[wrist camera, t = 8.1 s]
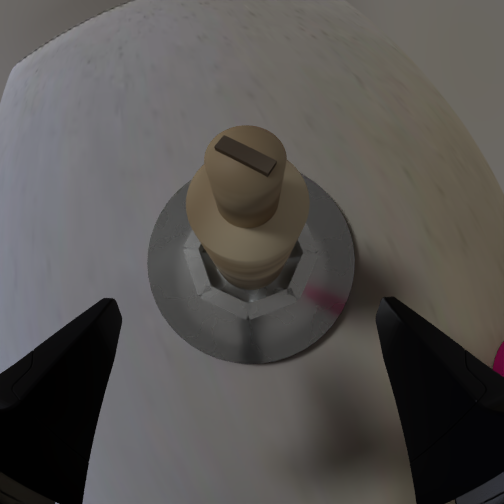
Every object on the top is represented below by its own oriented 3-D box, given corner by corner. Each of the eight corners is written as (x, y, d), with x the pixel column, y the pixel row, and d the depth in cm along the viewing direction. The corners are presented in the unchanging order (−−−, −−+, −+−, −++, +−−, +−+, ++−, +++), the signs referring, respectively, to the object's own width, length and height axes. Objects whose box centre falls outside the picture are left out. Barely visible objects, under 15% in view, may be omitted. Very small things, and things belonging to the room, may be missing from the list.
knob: (297, 244, 20) (352, 136, 8) (262, 303, 20) (275, 268, 7) (239, 210, 21) (223, 78, 9) (202, 266, 20) (131, 181, 8)
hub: (379, 314, 20) (391, 313, 18) (188, 388, 19) (182, 394, 17) (303, 146, 23) (306, 132, 21) (132, 204, 22) (123, 193, 20)
